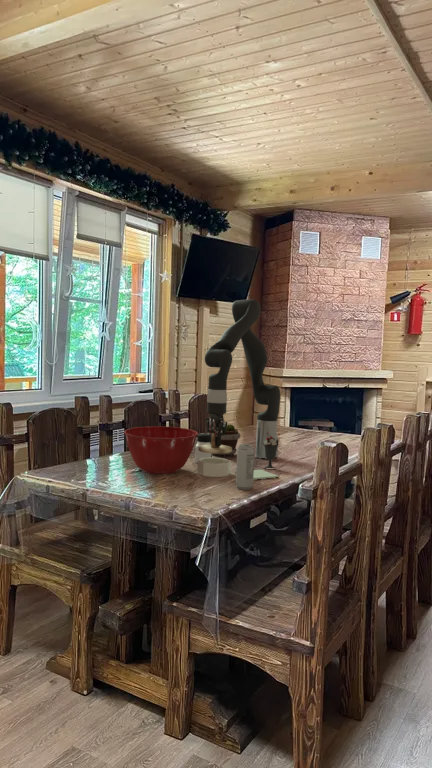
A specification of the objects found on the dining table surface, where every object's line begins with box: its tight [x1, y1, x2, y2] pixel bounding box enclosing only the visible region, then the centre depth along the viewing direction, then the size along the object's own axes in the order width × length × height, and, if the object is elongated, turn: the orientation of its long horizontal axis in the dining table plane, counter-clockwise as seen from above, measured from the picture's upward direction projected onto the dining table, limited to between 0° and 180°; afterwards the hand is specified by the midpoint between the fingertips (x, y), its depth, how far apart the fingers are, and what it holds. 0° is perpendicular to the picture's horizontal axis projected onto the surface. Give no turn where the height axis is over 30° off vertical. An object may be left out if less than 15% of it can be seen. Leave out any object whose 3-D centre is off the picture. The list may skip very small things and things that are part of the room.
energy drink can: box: [235, 443, 256, 491], centre depth 192 cm, size 6×6×15 cm
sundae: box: [263, 433, 280, 468], centre depth 227 cm, size 7×7×15 cm
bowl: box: [196, 456, 232, 478], centre depth 214 cm, size 12×12×5 cm
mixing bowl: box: [123, 425, 199, 475], centre depth 214 cm, size 28×28×15 cm
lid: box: [198, 433, 232, 455], centre depth 213 cm, size 13×13×7 cm
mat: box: [235, 469, 280, 481], centre depth 213 cm, size 12×12×1 cm
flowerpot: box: [207, 423, 242, 458], centre depth 253 cm, size 14×15×20 cm
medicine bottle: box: [194, 432, 213, 464], centre depth 236 cm, size 7×7×12 cm
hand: (215, 445), depth 213 cm, fingers closed on lid, 3 cm apart
